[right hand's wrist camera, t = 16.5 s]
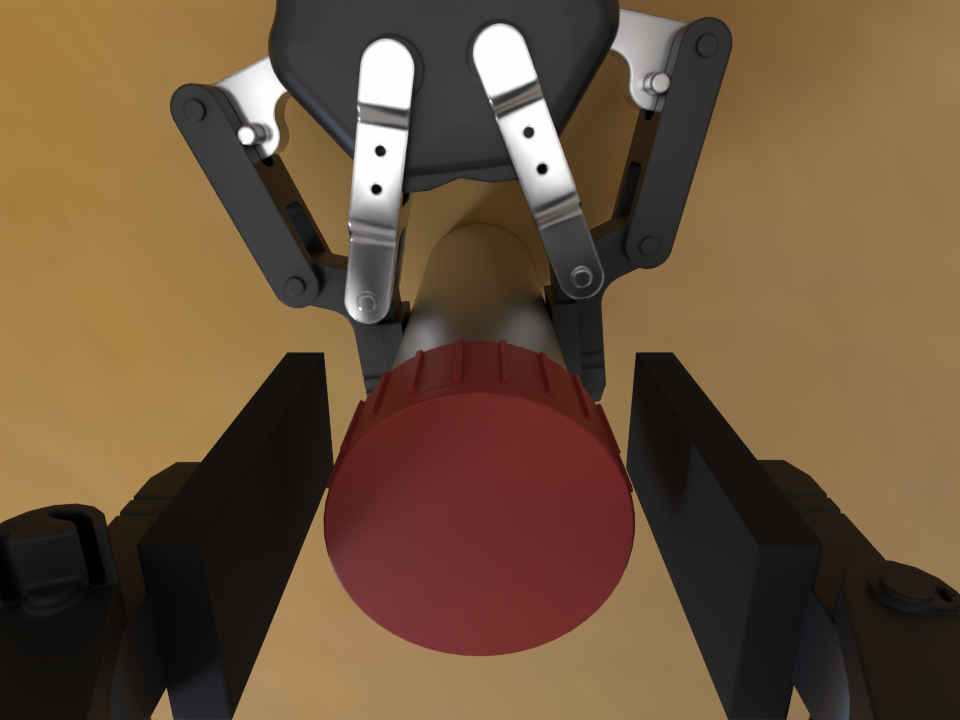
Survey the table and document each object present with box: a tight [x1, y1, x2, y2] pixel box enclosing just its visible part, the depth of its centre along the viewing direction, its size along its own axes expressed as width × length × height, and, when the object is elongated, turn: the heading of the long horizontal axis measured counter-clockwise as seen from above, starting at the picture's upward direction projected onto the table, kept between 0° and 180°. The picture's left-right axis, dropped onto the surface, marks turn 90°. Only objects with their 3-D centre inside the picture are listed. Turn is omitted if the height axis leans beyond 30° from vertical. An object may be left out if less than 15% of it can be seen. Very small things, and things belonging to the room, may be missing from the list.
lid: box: [324, 339, 635, 656], centre depth 11 cm, size 5×5×2 cm
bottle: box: [392, 224, 568, 371], centre depth 18 cm, size 4×4×16 cm
